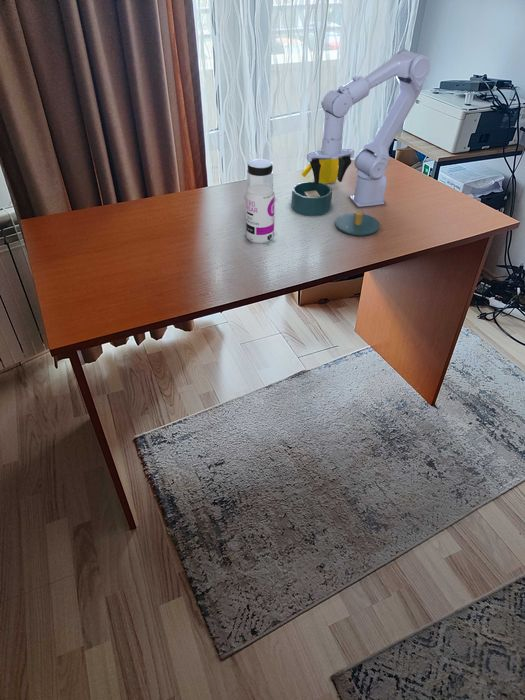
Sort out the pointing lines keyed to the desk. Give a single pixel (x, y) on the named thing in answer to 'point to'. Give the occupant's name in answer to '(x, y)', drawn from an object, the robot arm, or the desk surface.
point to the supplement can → (260, 213)
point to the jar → (260, 172)
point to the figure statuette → (326, 170)
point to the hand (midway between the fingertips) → (328, 181)
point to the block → (311, 194)
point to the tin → (311, 199)
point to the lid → (357, 224)
